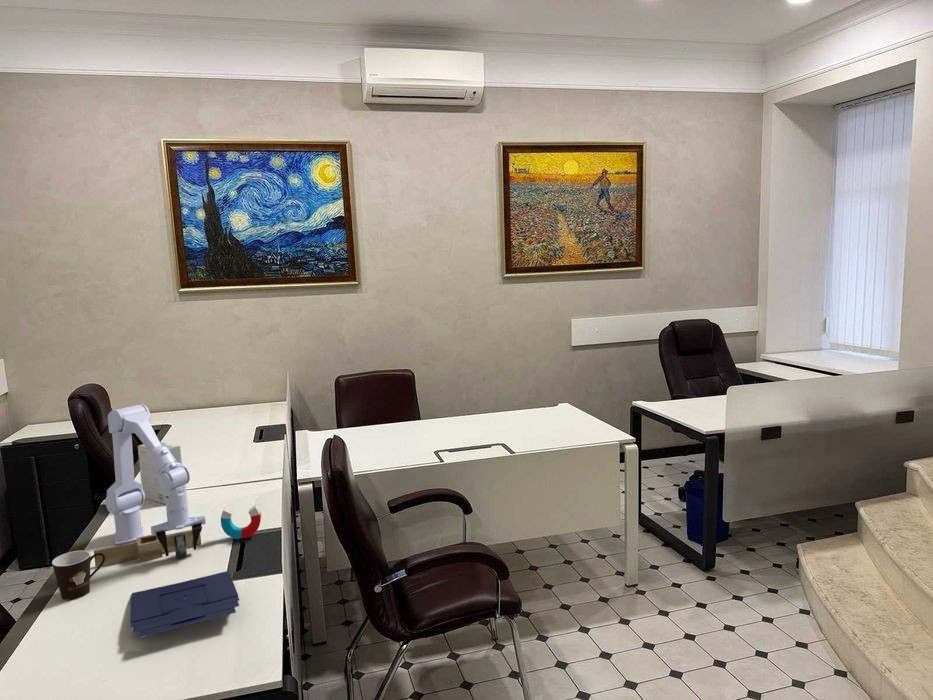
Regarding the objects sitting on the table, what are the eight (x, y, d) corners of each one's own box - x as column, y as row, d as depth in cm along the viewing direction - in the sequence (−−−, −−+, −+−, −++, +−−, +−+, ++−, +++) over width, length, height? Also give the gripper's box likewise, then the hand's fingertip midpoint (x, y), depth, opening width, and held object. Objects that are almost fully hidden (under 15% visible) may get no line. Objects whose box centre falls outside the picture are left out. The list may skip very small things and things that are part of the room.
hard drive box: (185, 498, 233) (181, 446, 230) (166, 505, 226) (161, 451, 223) (161, 490, 241) (156, 440, 238) (141, 497, 235) (136, 445, 232)
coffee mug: (54, 605, 162) (50, 569, 161) (58, 590, 170) (53, 555, 168) (106, 594, 168) (102, 558, 166) (107, 579, 175) (104, 545, 174)
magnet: (222, 541, 197) (219, 510, 196) (223, 537, 200) (221, 507, 198) (261, 537, 200) (259, 507, 198) (262, 533, 202) (260, 503, 201)
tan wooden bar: (95, 562, 185) (94, 546, 184) (199, 540, 198) (198, 524, 198) (95, 571, 180) (93, 555, 179) (202, 547, 193) (201, 532, 192)
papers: (130, 652, 141) (129, 636, 141) (131, 603, 167) (130, 589, 167) (245, 621, 152) (243, 606, 152) (229, 580, 179) (228, 567, 178)
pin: (175, 556, 188) (173, 533, 187) (186, 553, 190) (184, 531, 189) (176, 560, 186) (174, 537, 185) (187, 557, 187) (185, 535, 186)
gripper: (150, 518, 178) (154, 563, 180) (205, 507, 185) (209, 551, 187) (148, 509, 185) (153, 553, 187) (202, 499, 191) (205, 541, 194)
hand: (181, 551), depth 187 cm, fingers open, 7 cm apart
